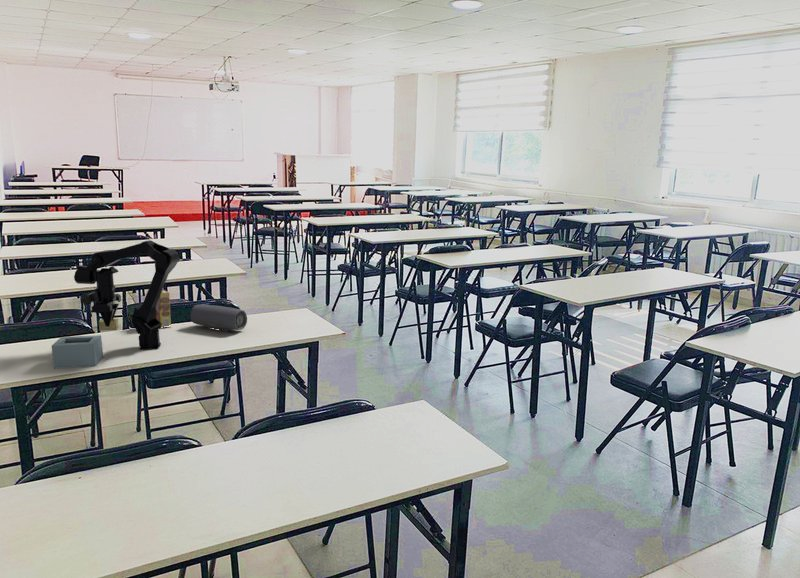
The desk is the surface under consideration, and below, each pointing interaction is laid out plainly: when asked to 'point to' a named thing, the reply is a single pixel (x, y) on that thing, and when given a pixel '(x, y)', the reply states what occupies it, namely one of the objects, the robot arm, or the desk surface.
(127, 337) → the desk surface
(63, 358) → the blue-grey open box
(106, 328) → the tan rectangular block
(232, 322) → the bluetooth speaker
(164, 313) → the candy box
